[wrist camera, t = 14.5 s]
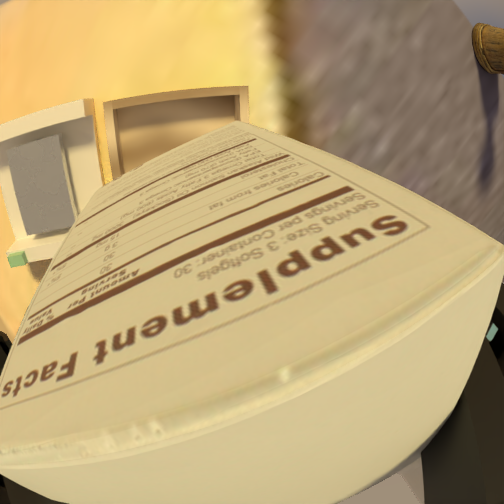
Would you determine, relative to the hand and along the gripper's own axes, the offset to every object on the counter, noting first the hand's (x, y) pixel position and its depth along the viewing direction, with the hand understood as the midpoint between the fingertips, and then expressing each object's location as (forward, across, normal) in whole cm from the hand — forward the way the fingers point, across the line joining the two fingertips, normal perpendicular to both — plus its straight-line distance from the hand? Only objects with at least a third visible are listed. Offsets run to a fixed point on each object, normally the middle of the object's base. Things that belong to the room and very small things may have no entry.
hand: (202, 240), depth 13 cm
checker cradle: (+19, +14, 0) cm, 24 cm away
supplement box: (+3, 0, 0) cm, 3 cm away
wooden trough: (+19, 0, 0) cm, 19 cm away
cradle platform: (+17, +14, 0) cm, 22 cm away
